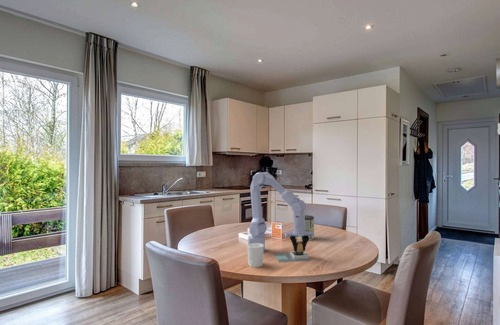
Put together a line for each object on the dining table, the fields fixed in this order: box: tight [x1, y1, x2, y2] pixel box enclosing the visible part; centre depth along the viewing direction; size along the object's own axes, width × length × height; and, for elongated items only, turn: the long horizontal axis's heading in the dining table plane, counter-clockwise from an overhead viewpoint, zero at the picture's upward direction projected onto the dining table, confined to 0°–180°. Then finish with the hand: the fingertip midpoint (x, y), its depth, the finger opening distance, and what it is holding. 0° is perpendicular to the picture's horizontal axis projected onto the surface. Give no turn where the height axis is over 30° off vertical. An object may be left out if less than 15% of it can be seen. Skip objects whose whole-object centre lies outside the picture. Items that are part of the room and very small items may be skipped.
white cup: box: [246, 243, 265, 268], centre depth 137 cm, size 8×8×10 cm
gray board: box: [273, 251, 312, 263], centre depth 147 cm, size 16×14×2 cm
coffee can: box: [297, 214, 315, 241], centre depth 187 cm, size 10×10×14 cm
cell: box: [294, 240, 303, 255], centre depth 148 cm, size 4×4×7 cm
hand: (299, 250), depth 148 cm, fingers closed on cell, 4 cm apart
